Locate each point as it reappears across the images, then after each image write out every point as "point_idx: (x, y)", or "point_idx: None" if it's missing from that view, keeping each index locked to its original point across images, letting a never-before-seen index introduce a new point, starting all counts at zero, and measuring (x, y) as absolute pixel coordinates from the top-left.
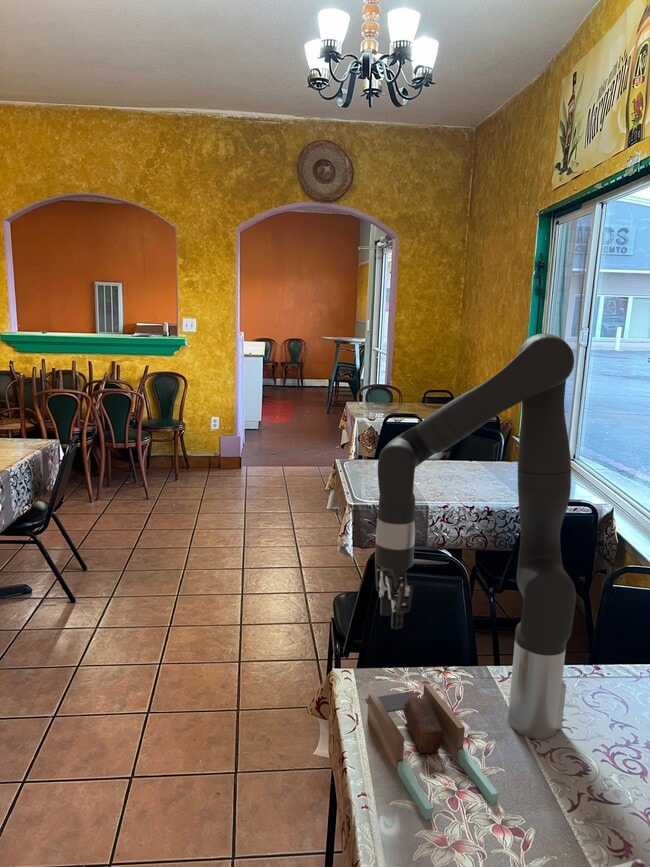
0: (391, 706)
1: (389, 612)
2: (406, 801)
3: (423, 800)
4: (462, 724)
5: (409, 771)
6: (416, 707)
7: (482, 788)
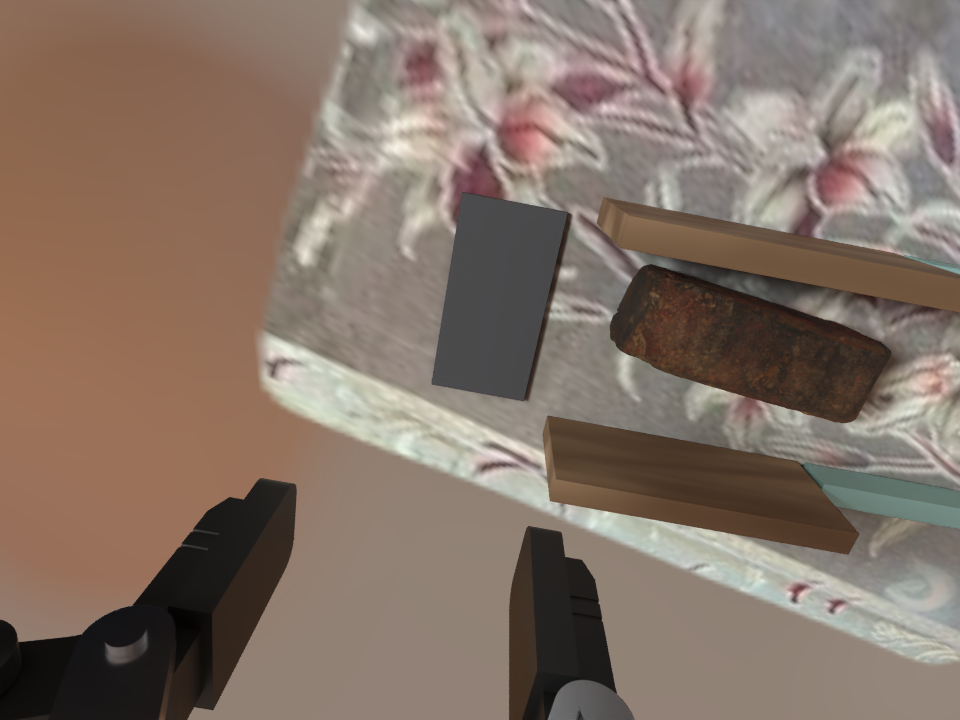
0: (517, 323)
1: (286, 511)
2: (898, 518)
3: None
4: None
5: (870, 496)
6: (720, 368)
7: None
